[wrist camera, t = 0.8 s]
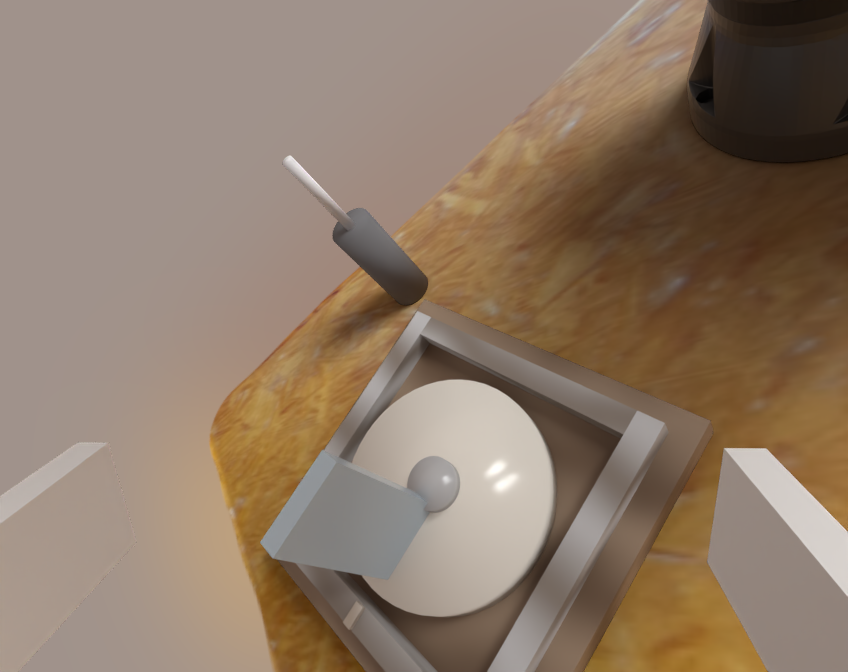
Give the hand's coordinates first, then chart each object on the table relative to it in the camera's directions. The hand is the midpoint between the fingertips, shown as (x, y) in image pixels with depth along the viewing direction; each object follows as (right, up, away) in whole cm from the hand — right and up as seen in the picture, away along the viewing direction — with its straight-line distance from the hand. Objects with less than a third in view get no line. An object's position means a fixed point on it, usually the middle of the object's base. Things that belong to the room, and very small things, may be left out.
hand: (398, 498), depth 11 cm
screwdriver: (-1, +8, +34) cm, 35 cm away
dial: (+2, -6, +21) cm, 22 cm away
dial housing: (+3, -7, +23) cm, 24 cm away
